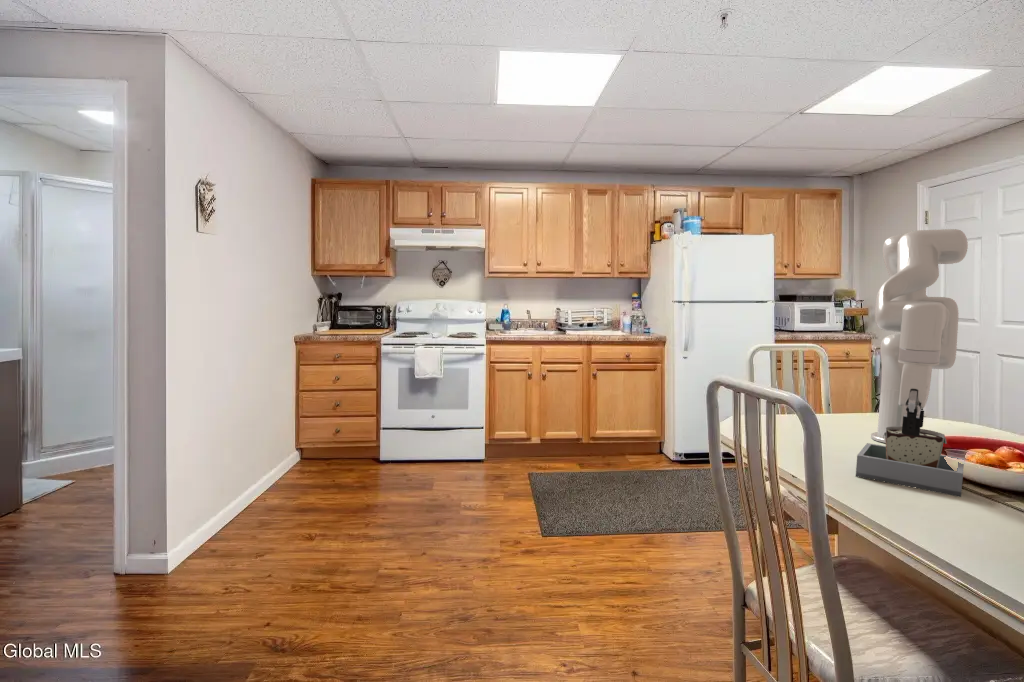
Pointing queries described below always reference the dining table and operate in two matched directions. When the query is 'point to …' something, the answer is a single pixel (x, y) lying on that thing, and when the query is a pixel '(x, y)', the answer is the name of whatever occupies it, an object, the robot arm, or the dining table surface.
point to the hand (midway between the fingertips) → (912, 430)
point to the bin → (909, 471)
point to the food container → (914, 446)
